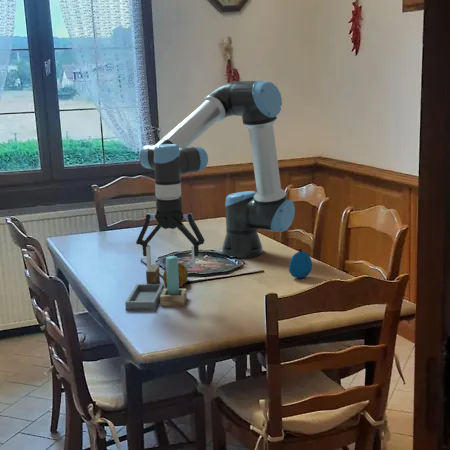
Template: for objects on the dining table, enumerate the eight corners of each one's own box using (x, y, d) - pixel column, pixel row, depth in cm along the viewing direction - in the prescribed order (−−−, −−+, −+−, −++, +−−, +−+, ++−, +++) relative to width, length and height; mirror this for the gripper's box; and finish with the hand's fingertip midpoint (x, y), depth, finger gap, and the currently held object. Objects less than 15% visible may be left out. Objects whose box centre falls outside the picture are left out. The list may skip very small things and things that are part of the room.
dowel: (180, 299, 214) (178, 256, 210) (178, 303, 210) (176, 259, 207) (169, 299, 214) (166, 256, 211) (167, 303, 210) (164, 259, 207)
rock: (161, 296, 229) (161, 269, 234) (186, 298, 231) (185, 271, 236) (166, 282, 220) (166, 254, 225) (192, 283, 222) (191, 256, 227)
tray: (163, 291, 221) (163, 284, 221) (154, 310, 205) (153, 302, 205) (137, 291, 222) (136, 284, 222) (125, 310, 206) (125, 302, 205)
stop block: (160, 282, 231) (159, 265, 229) (156, 289, 224) (155, 271, 222) (151, 282, 231) (150, 265, 229) (147, 289, 224) (146, 271, 223)
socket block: (186, 297, 215) (186, 288, 214) (183, 305, 208) (183, 296, 208) (164, 297, 216) (163, 288, 215) (160, 305, 209) (160, 296, 208)
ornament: (308, 274, 234) (308, 245, 232) (314, 277, 230) (314, 248, 228) (286, 277, 232) (285, 248, 229) (292, 281, 227) (292, 252, 225)
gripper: (212, 194, 207) (213, 263, 212) (129, 195, 209) (133, 263, 214) (209, 199, 200) (211, 270, 204) (124, 200, 202) (127, 270, 206)
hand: (171, 266), depth 209 cm, fingers open, 13 cm apart
